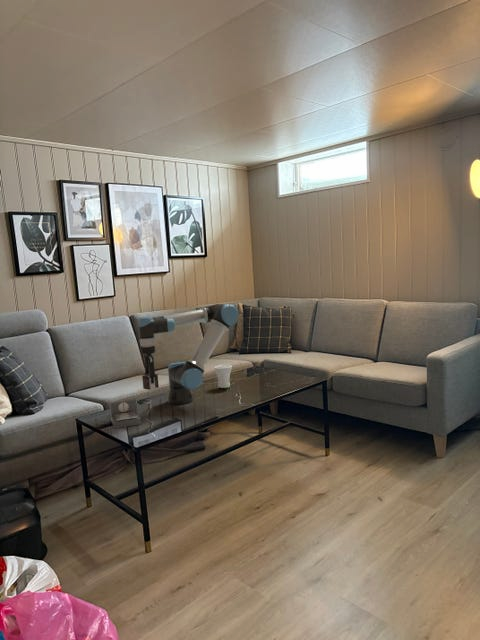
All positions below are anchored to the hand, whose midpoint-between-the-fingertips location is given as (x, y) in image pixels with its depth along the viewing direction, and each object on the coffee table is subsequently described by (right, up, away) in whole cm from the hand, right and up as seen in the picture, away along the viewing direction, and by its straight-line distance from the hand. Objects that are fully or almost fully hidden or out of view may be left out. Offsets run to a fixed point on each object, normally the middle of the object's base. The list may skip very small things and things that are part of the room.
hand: (151, 387), depth 255 cm
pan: (-10, -13, -14) cm, 21 cm away
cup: (+38, -8, +50) cm, 63 cm away
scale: (-11, -16, -12) cm, 23 cm away
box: (0, -1, 0) cm, 1 cm away
